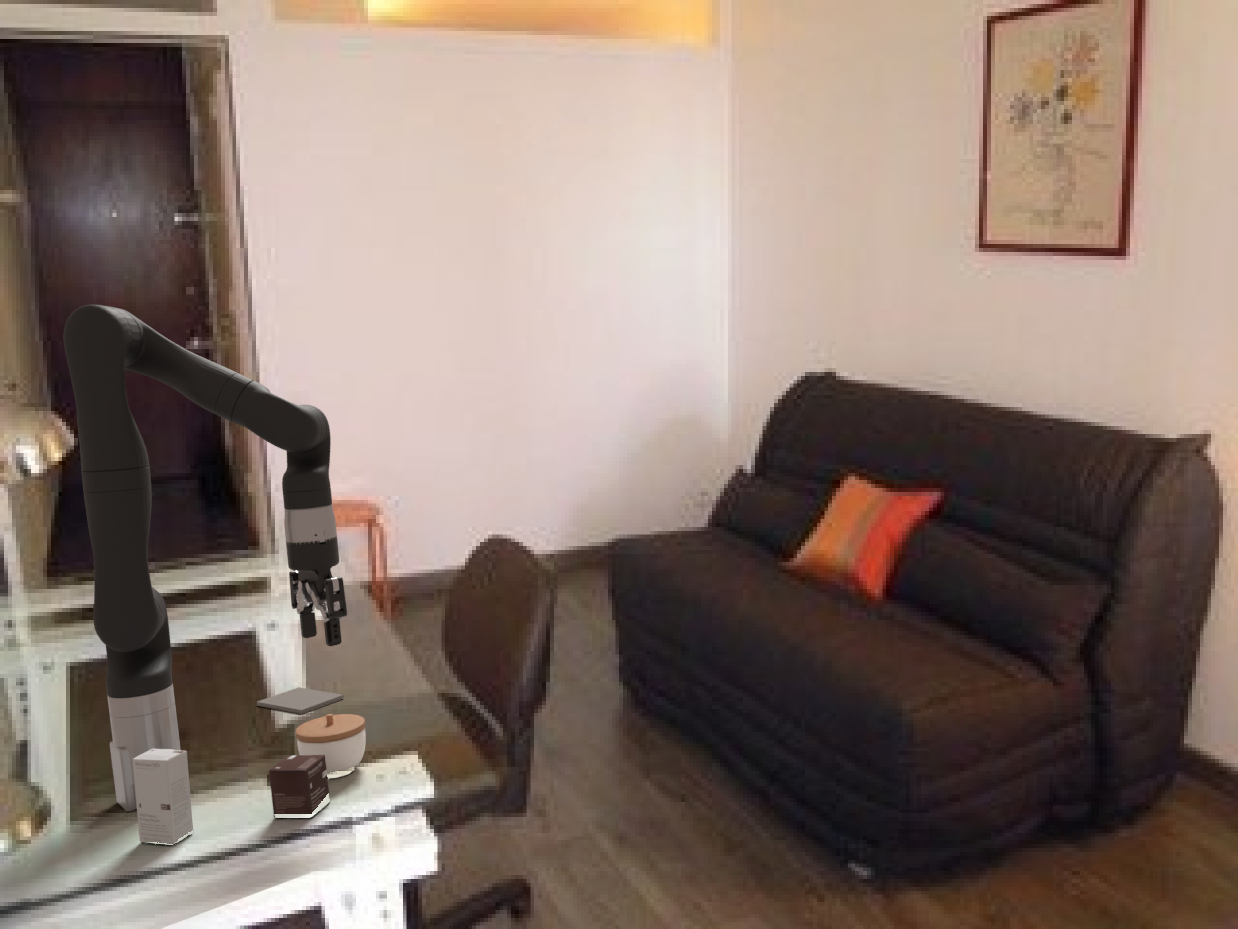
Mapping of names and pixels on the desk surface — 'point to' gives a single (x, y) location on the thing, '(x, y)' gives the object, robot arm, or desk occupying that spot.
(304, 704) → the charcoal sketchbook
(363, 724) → the lidded jar
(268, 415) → the robot arm
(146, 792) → the skincare box
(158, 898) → the desk surface
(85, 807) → the desk surface
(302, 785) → the box
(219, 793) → the desk surface
